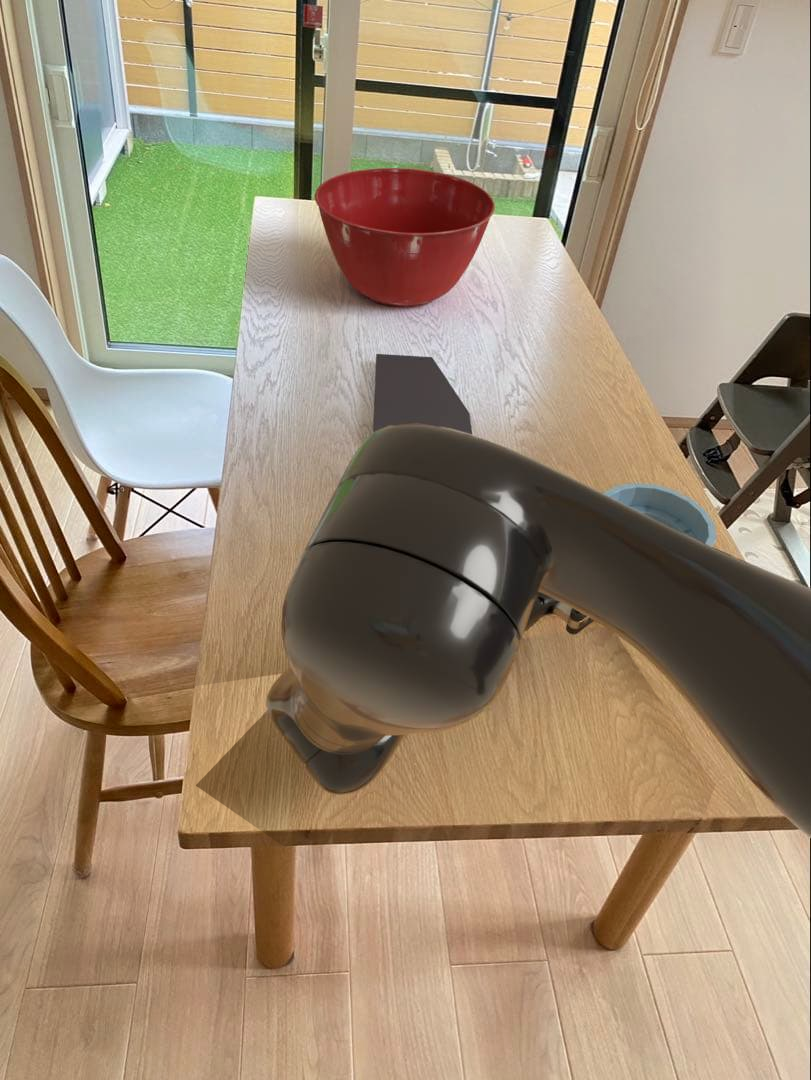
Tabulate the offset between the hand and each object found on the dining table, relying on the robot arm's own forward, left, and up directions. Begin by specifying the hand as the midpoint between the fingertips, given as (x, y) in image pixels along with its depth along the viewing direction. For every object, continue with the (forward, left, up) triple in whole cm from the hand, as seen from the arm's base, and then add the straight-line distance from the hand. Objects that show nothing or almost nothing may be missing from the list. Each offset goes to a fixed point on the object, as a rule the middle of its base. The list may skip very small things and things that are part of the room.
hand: (583, 535), depth 78 cm
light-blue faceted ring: (+2, -10, -8) cm, 13 cm away
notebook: (+37, +4, -8) cm, 38 cm away
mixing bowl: (+72, -4, -8) cm, 73 cm away
